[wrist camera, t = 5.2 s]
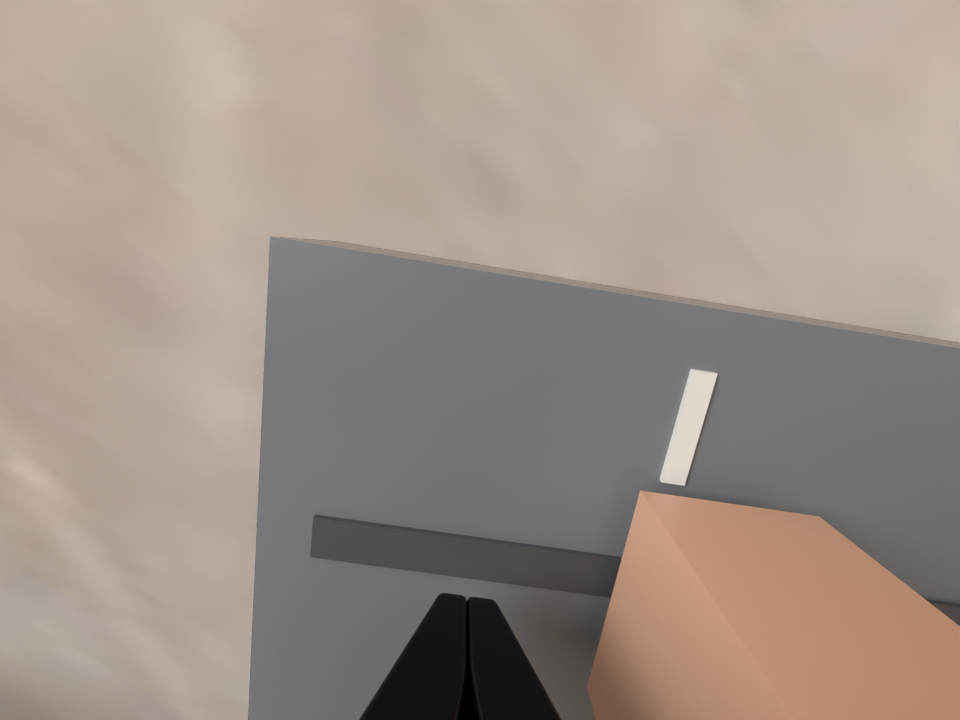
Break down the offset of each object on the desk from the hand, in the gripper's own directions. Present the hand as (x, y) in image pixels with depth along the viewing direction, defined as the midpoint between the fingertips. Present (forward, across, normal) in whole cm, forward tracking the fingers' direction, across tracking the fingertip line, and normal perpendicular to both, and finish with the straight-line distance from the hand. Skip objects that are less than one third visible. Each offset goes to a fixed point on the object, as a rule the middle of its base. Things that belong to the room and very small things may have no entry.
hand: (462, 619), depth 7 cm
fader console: (+4, -4, +6) cm, 8 cm away
